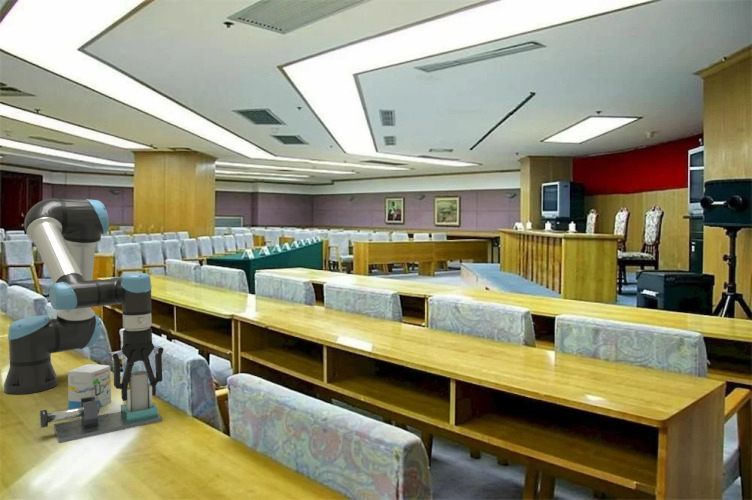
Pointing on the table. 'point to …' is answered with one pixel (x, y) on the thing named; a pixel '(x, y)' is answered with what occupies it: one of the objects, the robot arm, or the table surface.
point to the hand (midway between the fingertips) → (139, 408)
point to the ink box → (89, 384)
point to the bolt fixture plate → (103, 421)
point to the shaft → (59, 415)
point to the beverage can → (138, 390)
